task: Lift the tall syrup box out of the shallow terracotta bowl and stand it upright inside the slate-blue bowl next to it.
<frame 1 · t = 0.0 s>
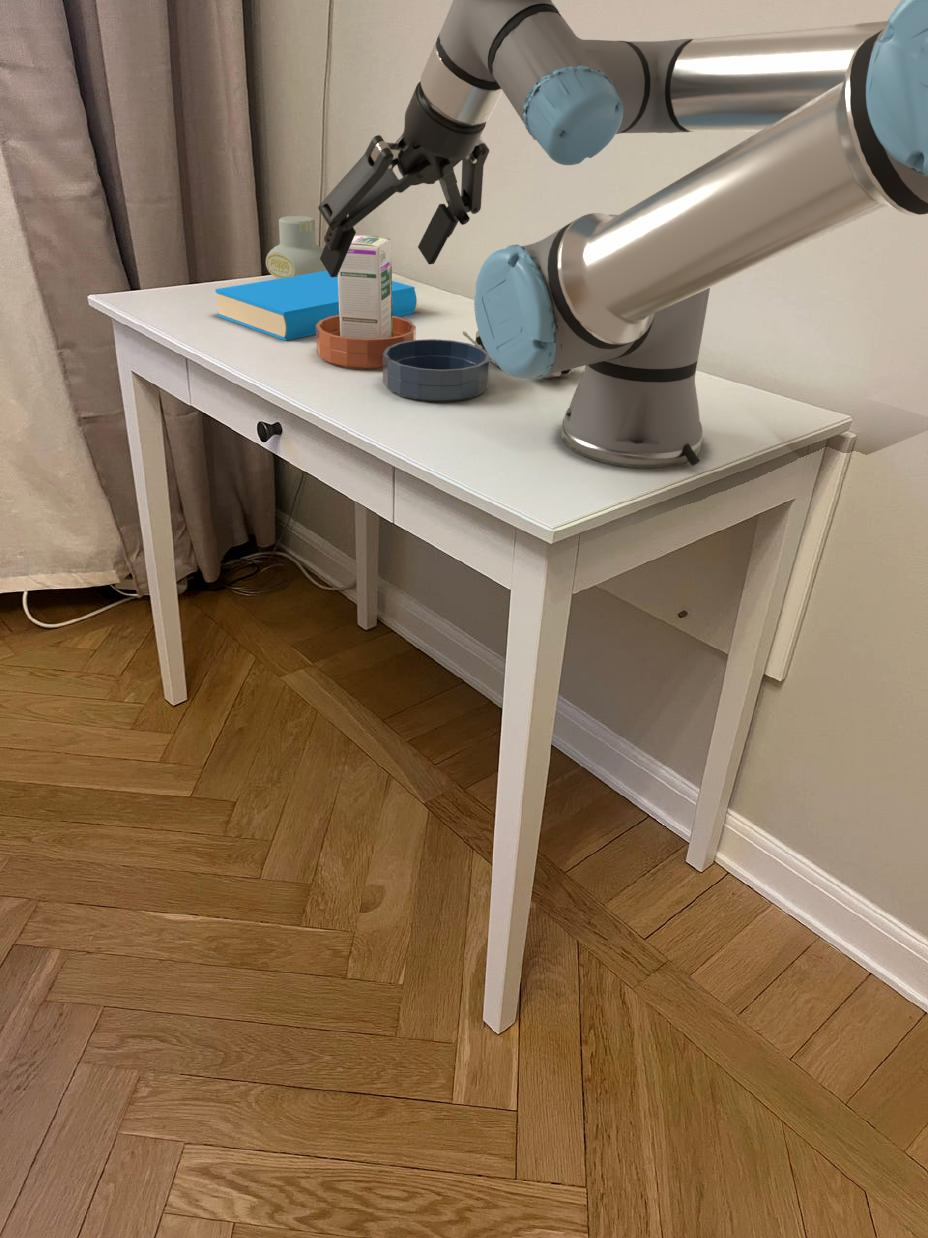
hand: (378, 261, 112), 15 cm above the table, tool tilted 35°, fingers open, 13 cm apart
robot toy: (528, 369, 131), on the table
air freshener: (299, 282, 167), on the table
slate bowl: (435, 385, 123), on the table
syrup box: (366, 354, 132), resting on terracotta bowl
terracotta bowl: (366, 355, 133), on the table
book: (319, 316, 149), on the table
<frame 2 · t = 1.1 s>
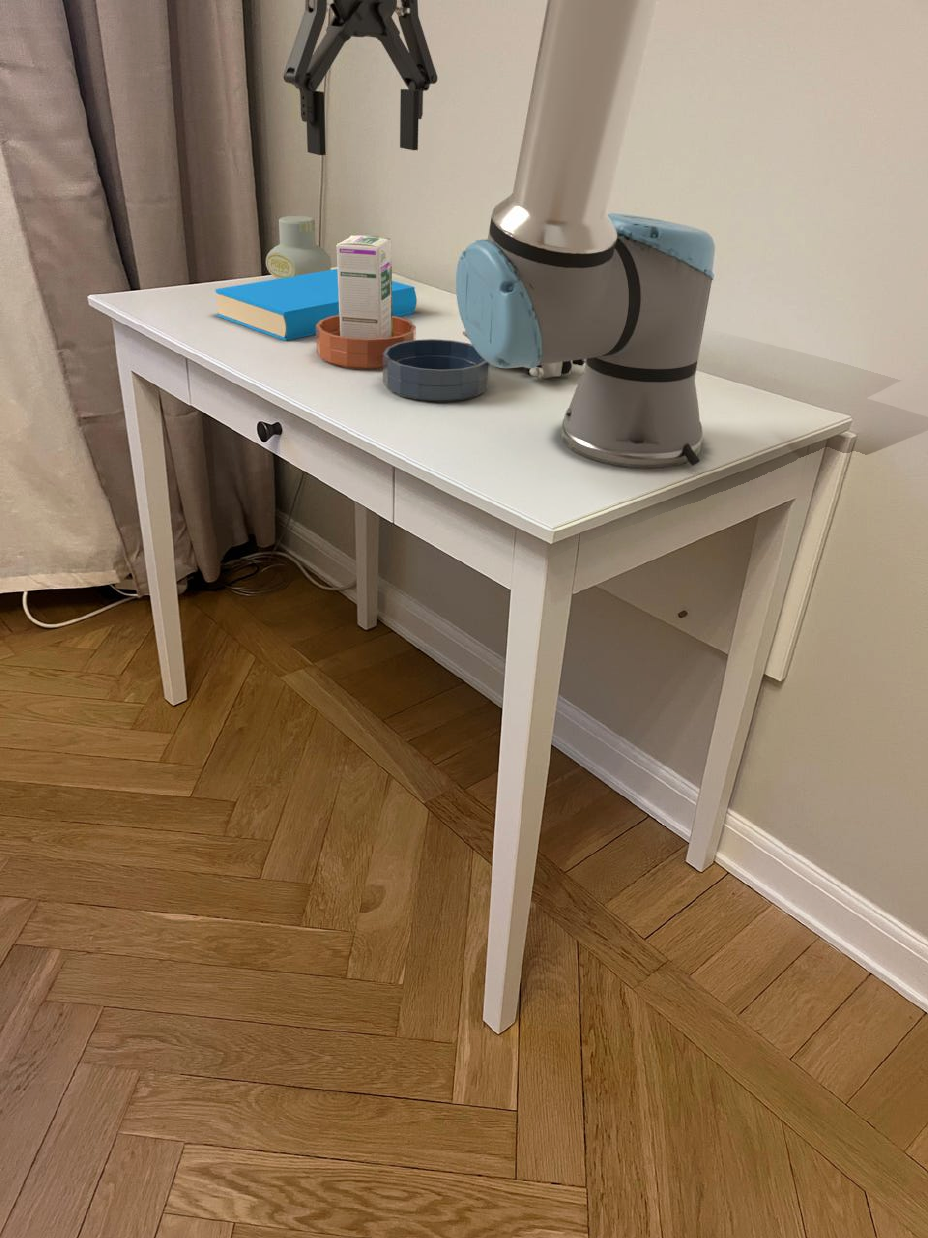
hand: (364, 151, 119), 25 cm above the table, tool pointing down, fingers open, 13 cm apart
nothing on the table moved.
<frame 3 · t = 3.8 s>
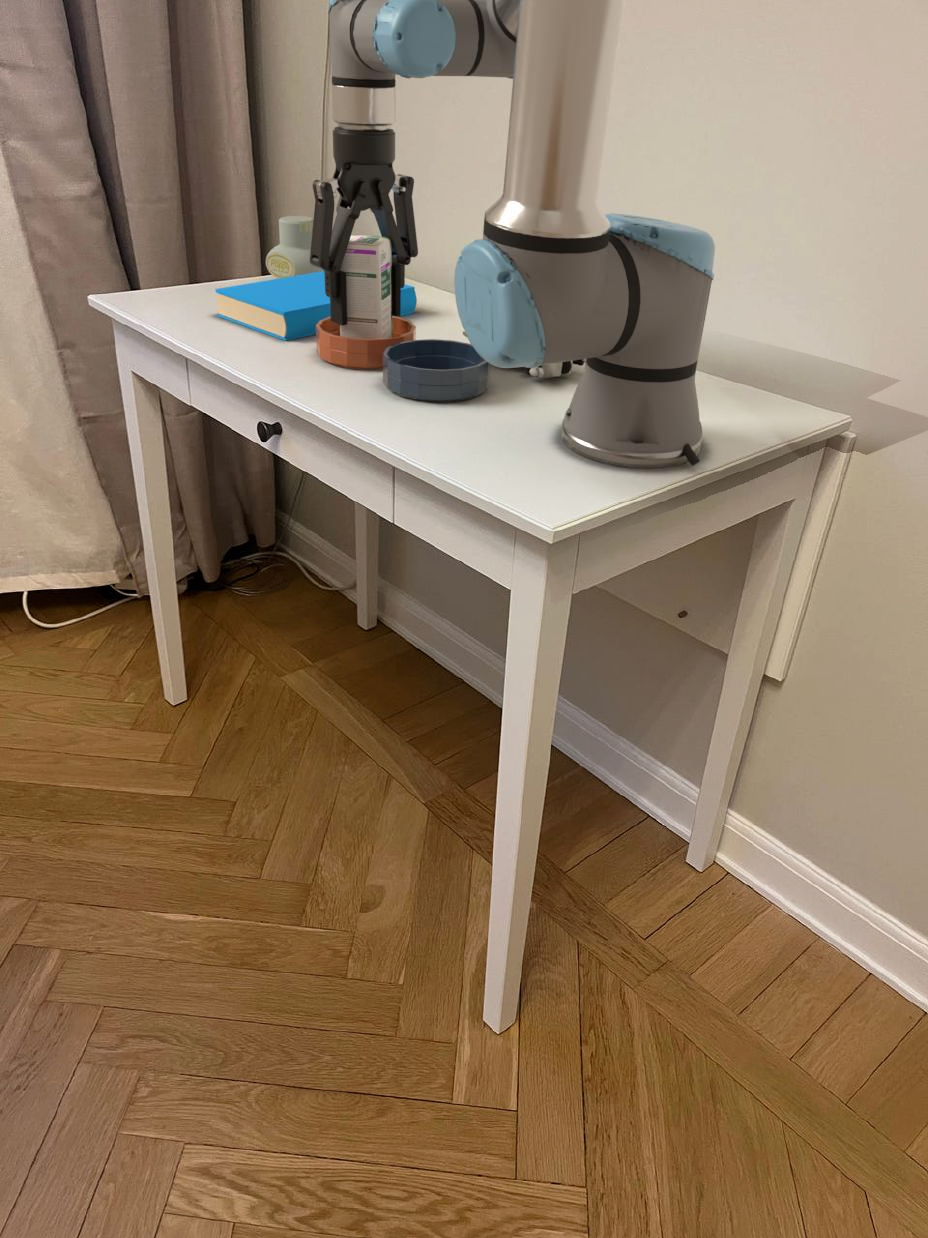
hand: (366, 317, 130), 5 cm above the table, tool pointing down, fingers closed on syrup box, 8 cm apart
syrup box: (366, 354, 132), resting on terracotta bowl, touching gripper
everything else where it was.
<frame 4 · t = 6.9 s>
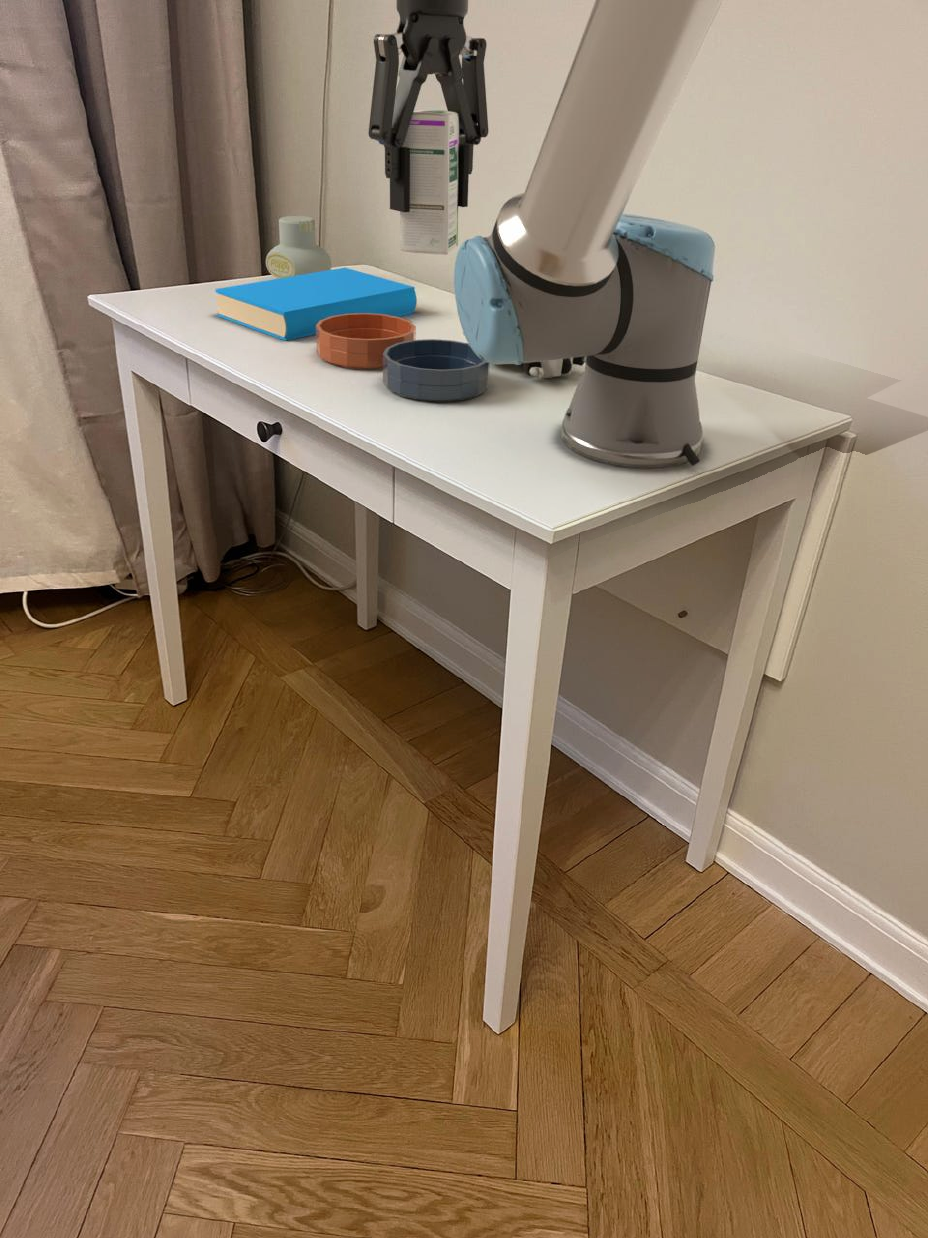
hand: (429, 207, 113), 21 cm above the table, tool pointing down, fingers closed on syrup box, 8 cm apart
syrup box: (428, 251, 116), point 16 cm above the table, touching gripper
everything else where it was.
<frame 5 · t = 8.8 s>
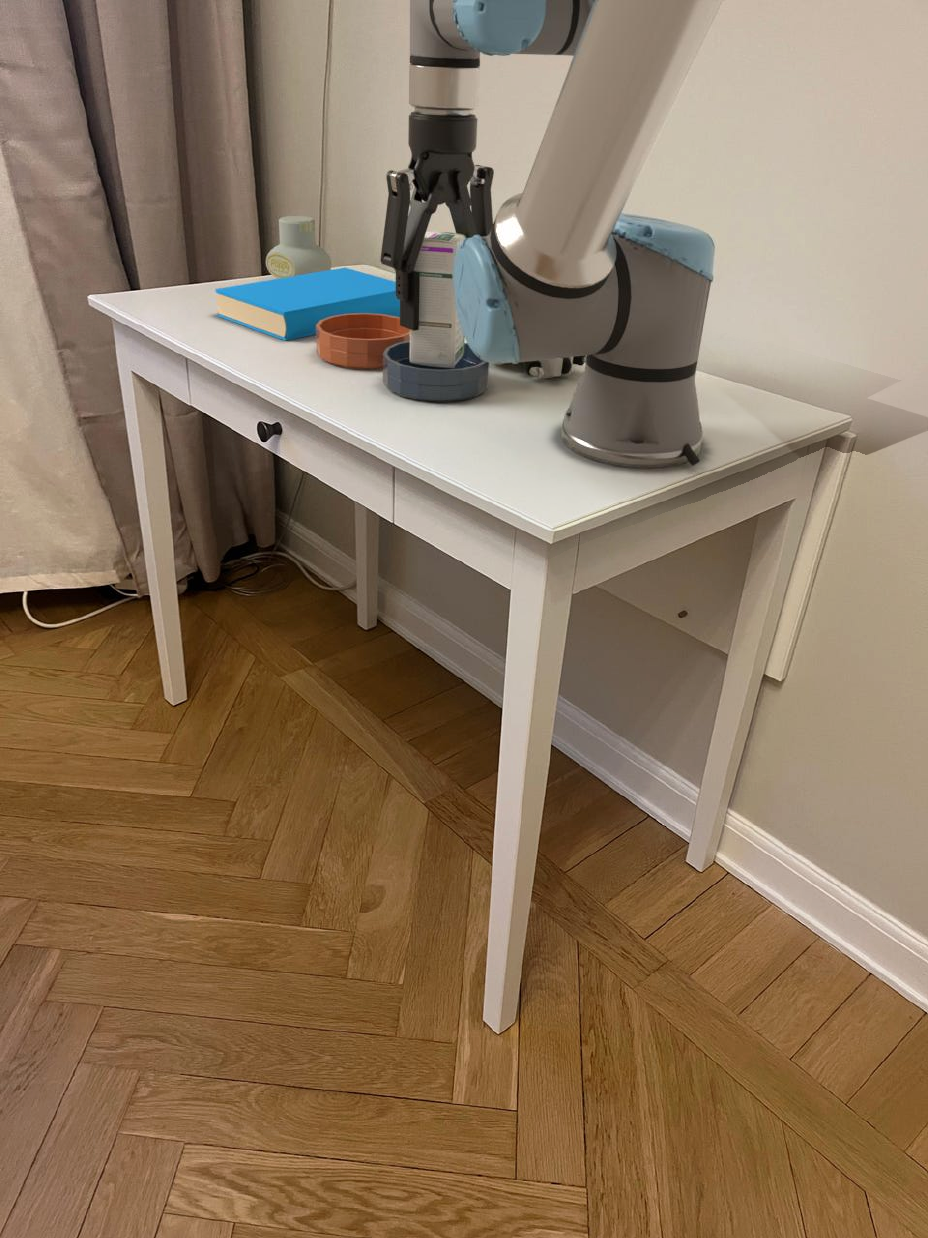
hand: (437, 322, 119), 8 cm above the table, tool pointing down, fingers closed on syrup box, 8 cm apart
syrup box: (436, 361, 121), point 3 cm above the table, touching gripper
everything else where it was.
when the fingers open (5 cm above the table, at t = 10.2 s): syrup box stays where it is, resting on slate bowl.
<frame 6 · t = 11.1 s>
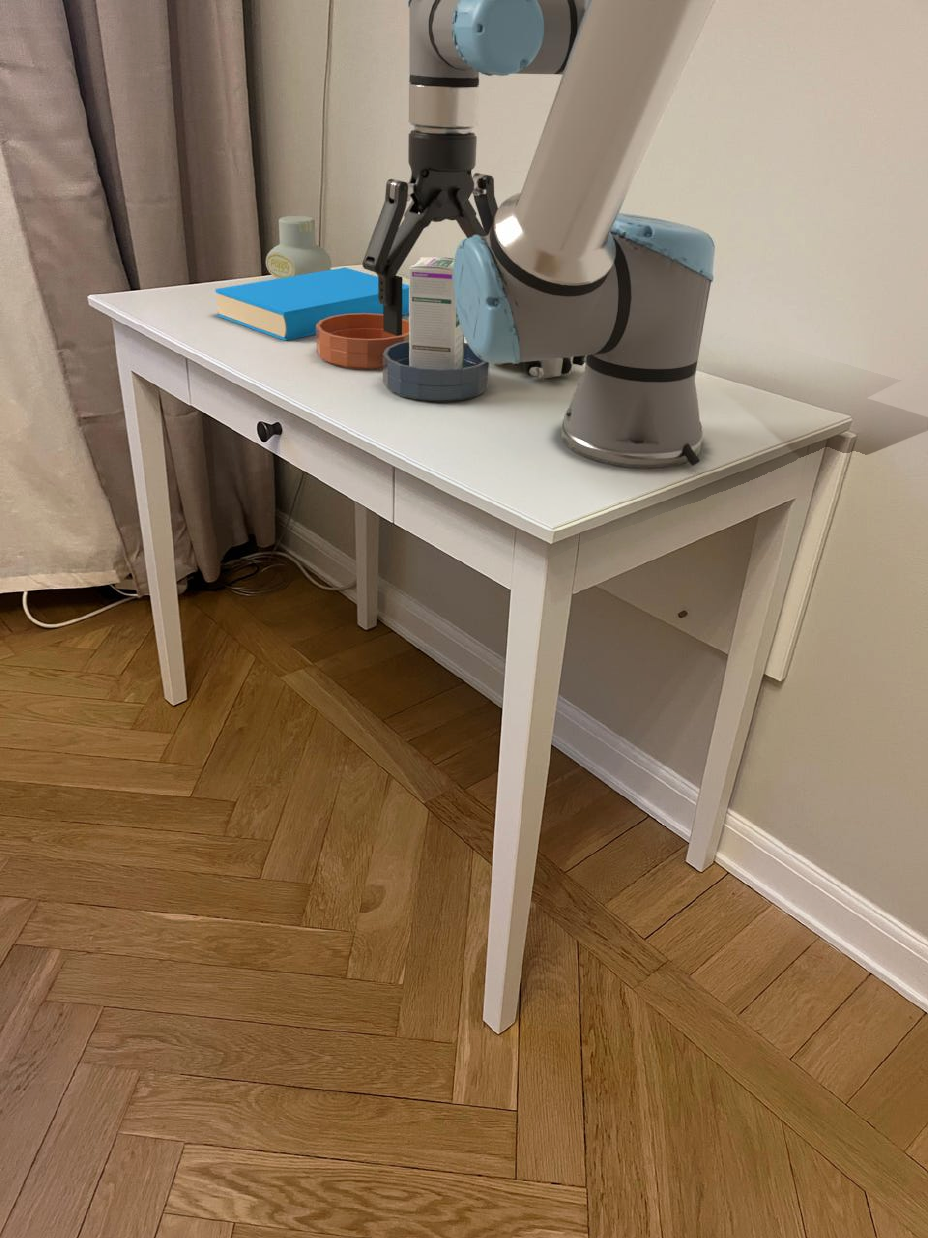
hand: (438, 325, 119), 8 cm above the table, tool pointing down, fingers open, 13 cm apart
syrup box: (435, 384, 123), resting on slate bowl
everything else where it was.
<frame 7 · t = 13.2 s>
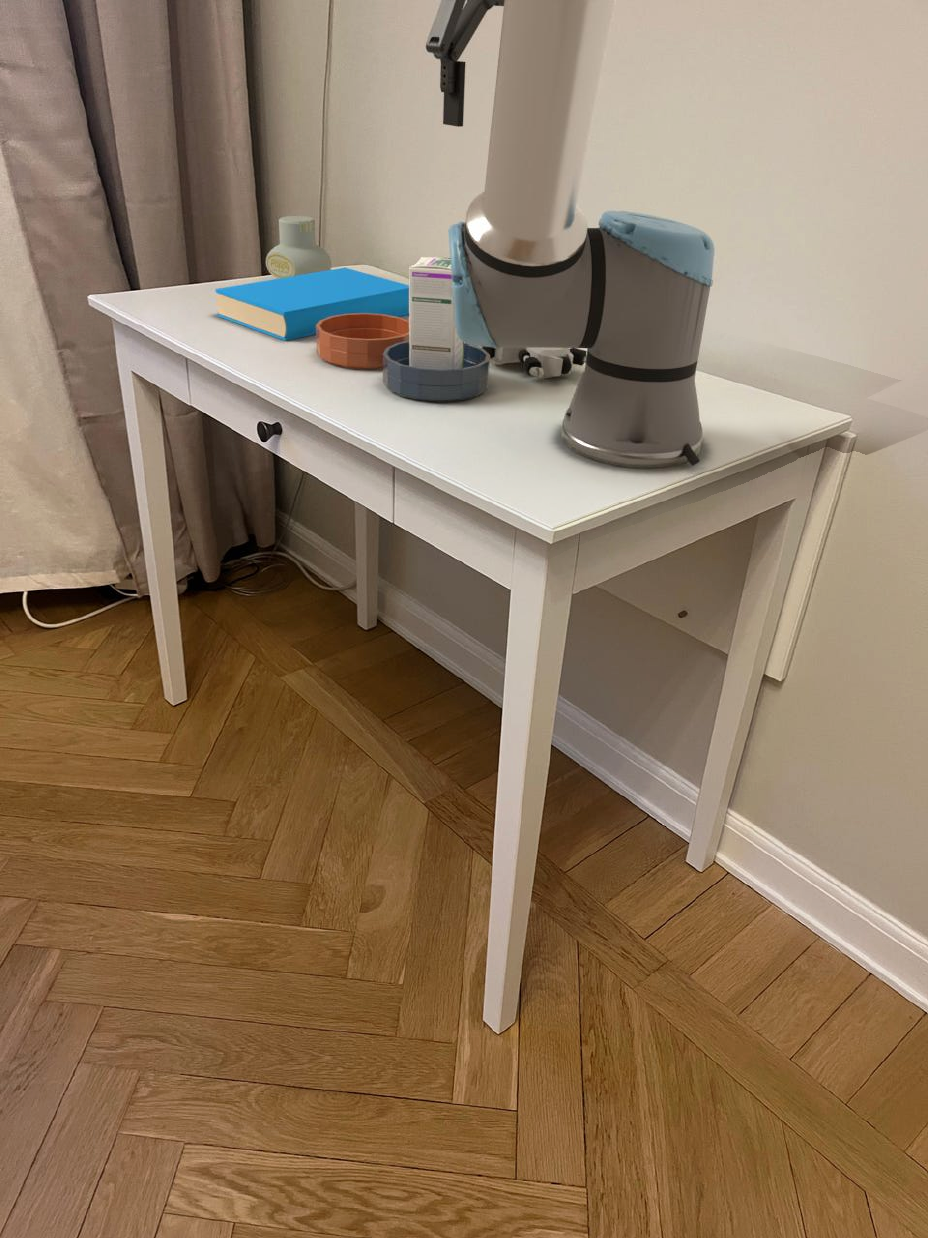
hand: (495, 123, 118), 29 cm above the table, tool pointing down, fingers open, 13 cm apart
nothing on the table moved.
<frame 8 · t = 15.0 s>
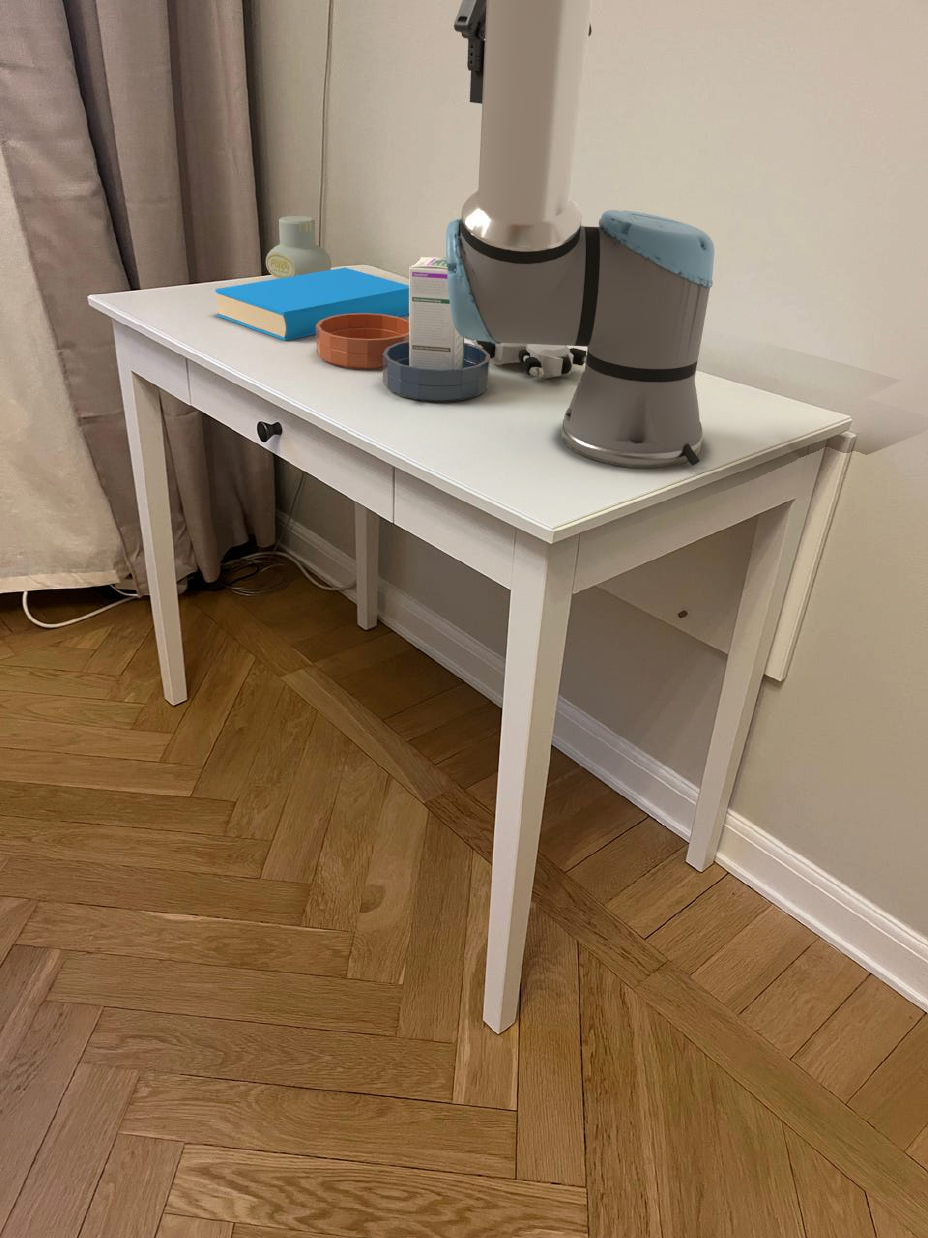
hand: (520, 102, 122), 31 cm above the table, tool pointing down, fingers open, 13 cm apart
nothing on the table moved.
at the end: syrup box 0.1 cm off-centre in the slate bowl, point 0.2 cm above the slate bowl's base; syrup box tilted 0°; the gripper is holding nothing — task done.
